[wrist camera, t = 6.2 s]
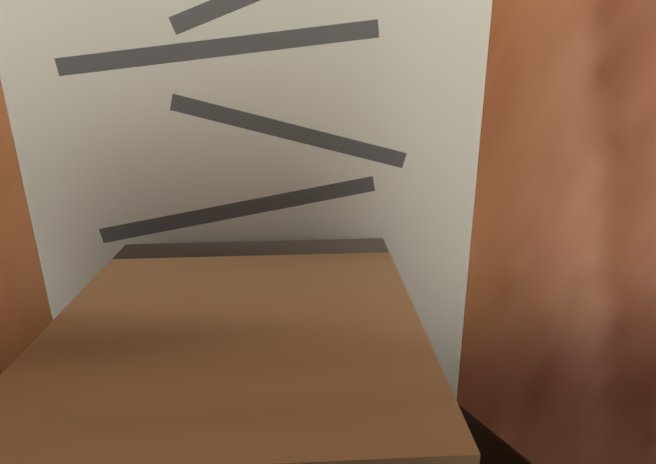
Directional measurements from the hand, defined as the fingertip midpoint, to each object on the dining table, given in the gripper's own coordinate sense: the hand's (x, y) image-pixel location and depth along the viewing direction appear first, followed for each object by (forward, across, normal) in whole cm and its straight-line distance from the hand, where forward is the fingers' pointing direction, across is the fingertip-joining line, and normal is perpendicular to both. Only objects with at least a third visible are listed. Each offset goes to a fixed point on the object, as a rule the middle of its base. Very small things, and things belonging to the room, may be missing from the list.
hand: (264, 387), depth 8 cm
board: (+1, 0, -2) cm, 2 cm away
